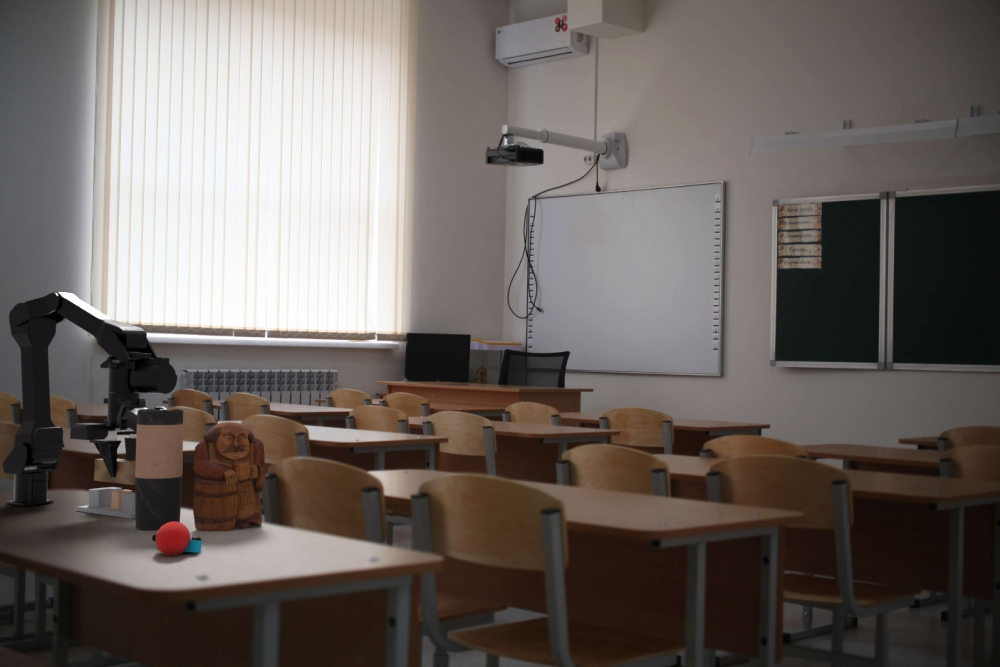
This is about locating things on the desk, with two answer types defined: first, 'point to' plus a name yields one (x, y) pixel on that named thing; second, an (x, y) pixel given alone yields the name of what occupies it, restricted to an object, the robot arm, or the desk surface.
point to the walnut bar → (123, 473)
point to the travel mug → (158, 468)
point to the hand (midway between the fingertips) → (122, 476)
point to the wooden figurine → (228, 479)
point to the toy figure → (176, 539)
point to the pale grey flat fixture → (110, 502)
